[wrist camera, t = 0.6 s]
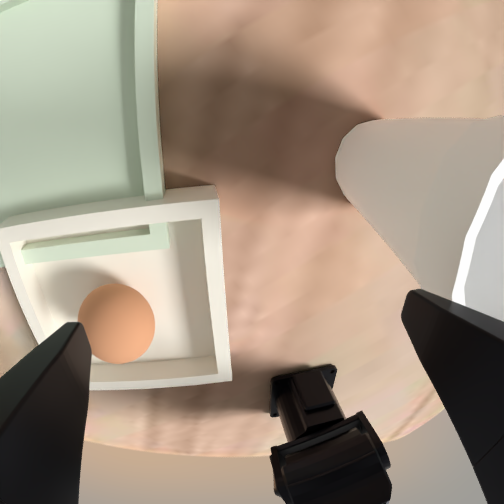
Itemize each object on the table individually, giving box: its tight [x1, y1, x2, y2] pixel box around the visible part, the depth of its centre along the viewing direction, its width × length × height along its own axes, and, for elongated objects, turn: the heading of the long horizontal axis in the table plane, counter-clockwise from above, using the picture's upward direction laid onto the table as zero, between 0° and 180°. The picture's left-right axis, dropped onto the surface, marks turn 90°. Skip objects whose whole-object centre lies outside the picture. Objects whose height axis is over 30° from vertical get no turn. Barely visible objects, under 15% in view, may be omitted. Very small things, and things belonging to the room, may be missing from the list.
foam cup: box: [335, 115, 504, 322], centre depth 15 cm, size 10×9×13 cm
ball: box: [77, 284, 155, 364], centre depth 18 cm, size 5×5×5 cm
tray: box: [0, 0, 170, 267], centre depth 13 cm, size 18×18×2 cm
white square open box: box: [0, 185, 233, 390], centre depth 20 cm, size 14×14×3 cm
